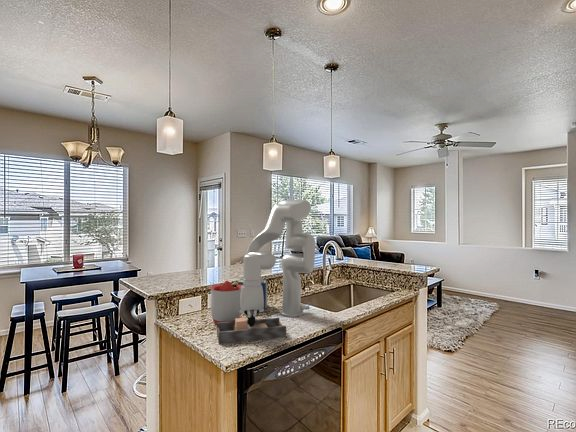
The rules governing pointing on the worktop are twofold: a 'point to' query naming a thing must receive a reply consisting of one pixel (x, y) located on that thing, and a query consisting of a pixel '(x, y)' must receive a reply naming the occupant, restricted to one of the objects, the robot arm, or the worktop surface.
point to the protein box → (264, 286)
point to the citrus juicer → (225, 302)
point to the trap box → (250, 331)
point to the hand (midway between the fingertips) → (251, 325)
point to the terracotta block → (240, 323)
